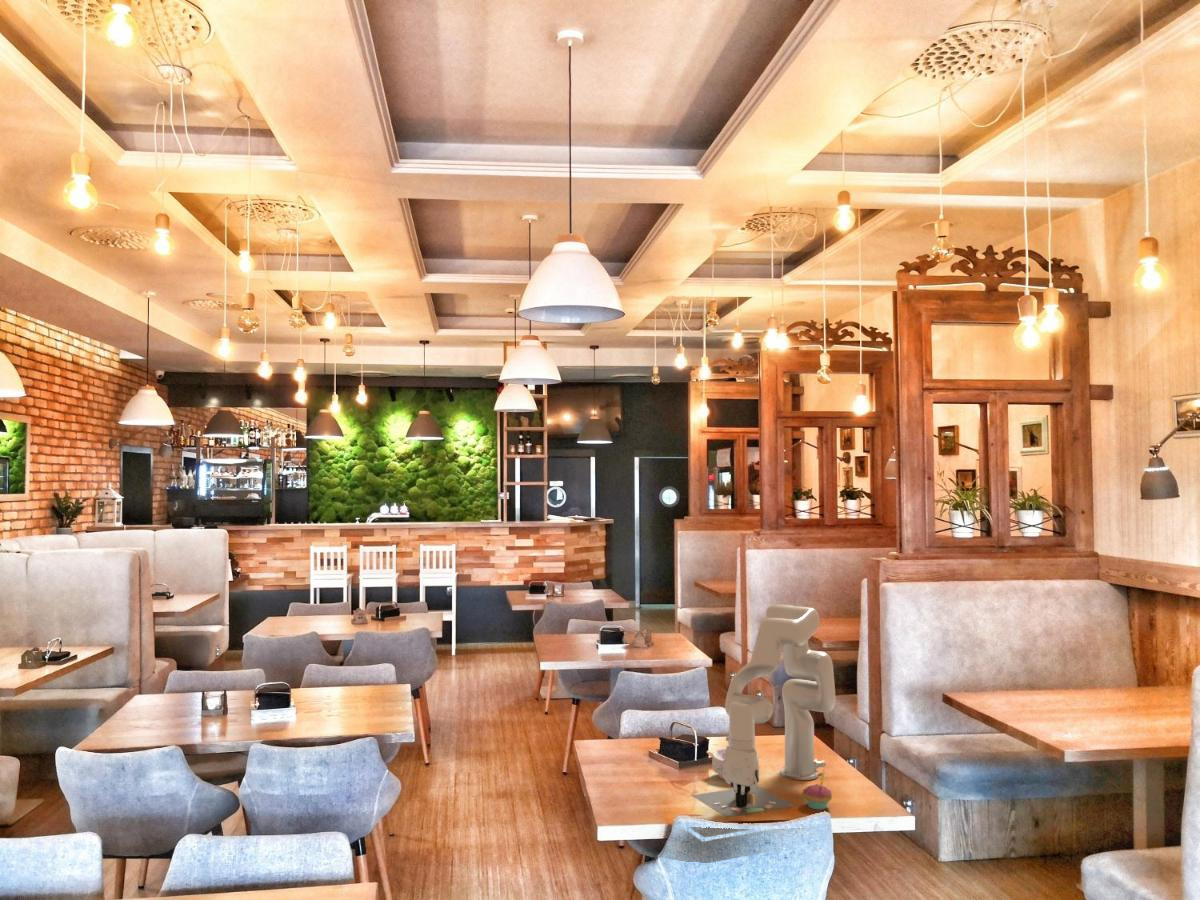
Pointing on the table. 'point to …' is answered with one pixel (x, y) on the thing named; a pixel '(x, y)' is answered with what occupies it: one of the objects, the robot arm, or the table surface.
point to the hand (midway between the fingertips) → (741, 806)
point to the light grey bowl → (720, 762)
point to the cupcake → (817, 795)
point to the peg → (749, 797)
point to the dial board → (727, 807)
